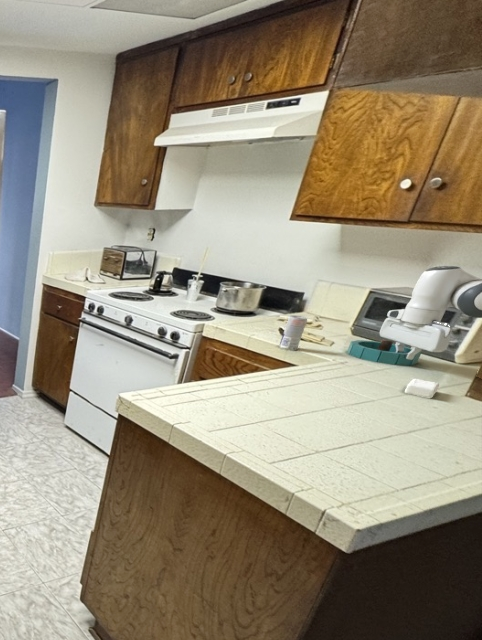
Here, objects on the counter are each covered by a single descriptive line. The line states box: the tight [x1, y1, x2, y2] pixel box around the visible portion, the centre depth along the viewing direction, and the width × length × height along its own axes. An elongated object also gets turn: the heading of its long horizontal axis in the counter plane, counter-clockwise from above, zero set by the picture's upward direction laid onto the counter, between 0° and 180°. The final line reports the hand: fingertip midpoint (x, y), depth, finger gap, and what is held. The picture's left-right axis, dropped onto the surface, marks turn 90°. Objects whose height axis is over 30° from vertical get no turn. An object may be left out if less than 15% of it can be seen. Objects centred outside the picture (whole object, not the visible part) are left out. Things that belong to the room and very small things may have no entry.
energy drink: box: [278, 315, 308, 351], centre depth 173 cm, size 5×5×12 cm
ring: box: [346, 339, 422, 367], centre depth 165 cm, size 17×17×4 cm
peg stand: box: [378, 338, 395, 352], centre depth 165 cm, size 7×7×6 cm
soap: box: [404, 378, 440, 399], centre depth 133 cm, size 9×6×3 cm, turn 127°
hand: (403, 357), depth 158 cm, fingers closed on ring, 2 cm apart
